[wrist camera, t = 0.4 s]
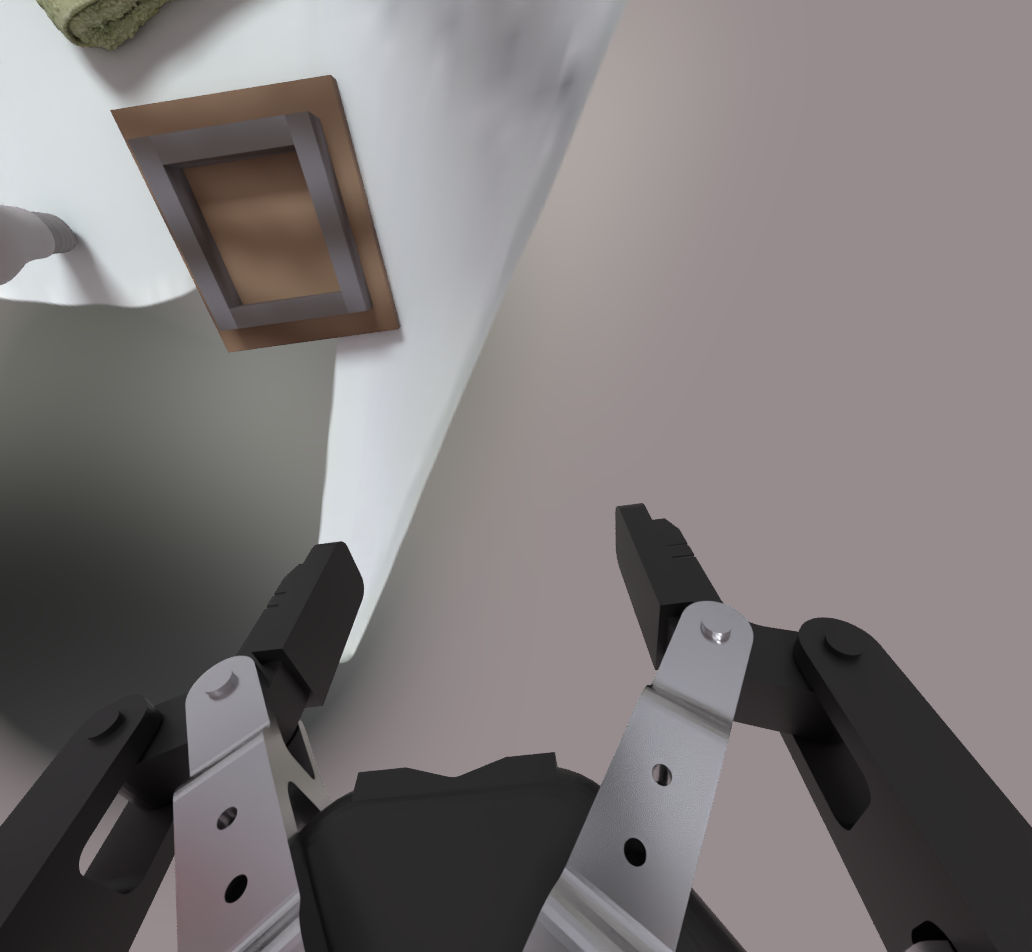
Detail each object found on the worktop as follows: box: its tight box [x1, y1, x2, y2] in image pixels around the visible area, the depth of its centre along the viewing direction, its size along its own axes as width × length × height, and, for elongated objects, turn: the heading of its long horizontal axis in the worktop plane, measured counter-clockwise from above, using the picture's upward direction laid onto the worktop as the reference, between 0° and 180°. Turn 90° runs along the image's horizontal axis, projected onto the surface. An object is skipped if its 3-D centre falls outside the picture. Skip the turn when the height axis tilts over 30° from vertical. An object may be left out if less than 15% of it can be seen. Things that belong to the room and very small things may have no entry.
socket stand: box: [110, 75, 400, 352], centre depth 30 cm, size 16×15×3 cm
